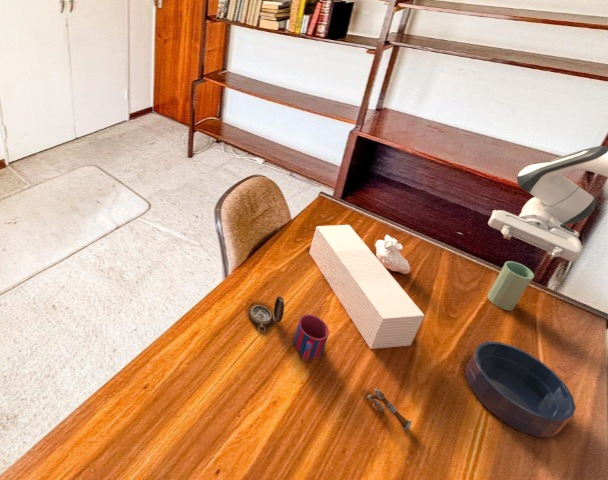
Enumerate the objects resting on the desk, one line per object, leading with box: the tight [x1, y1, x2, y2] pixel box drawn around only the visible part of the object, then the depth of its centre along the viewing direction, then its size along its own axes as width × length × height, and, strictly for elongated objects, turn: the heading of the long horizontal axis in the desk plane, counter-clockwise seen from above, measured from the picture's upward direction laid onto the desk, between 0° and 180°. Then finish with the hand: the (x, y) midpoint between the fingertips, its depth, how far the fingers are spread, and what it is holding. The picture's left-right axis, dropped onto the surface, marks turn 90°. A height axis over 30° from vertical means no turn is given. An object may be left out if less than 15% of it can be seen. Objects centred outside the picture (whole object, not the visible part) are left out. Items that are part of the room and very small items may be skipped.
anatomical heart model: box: [374, 234, 411, 275], centre depth 119 cm, size 12×8×11 cm
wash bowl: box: [464, 341, 576, 438], centre depth 86 cm, size 16×16×6 cm
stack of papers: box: [309, 224, 426, 350], centre depth 108 cm, size 32×11×11 cm, turn 6°
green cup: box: [486, 260, 535, 311], centre depth 108 cm, size 6×6×12 cm
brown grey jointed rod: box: [365, 388, 413, 431], centre depth 82 cm, size 2×8×4 cm, turn 46°
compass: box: [248, 295, 285, 333], centre depth 100 cm, size 8×8×7 cm
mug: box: [293, 314, 330, 362], centre depth 93 cm, size 7×10×7 cm
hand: (528, 246), depth 112 cm, fingers open, 8 cm apart
